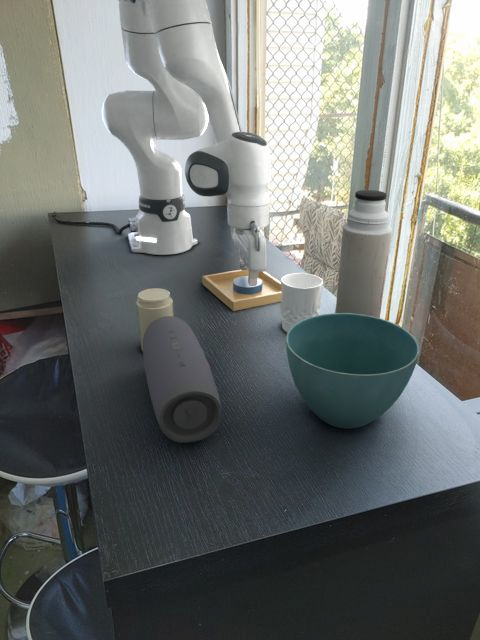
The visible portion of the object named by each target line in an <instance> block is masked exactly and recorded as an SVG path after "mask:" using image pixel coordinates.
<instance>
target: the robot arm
mask: <svg viewBox="0 0 480 640" xmlns="http://www.w3.org/2000/svg"><path fill="white" fill-rule="evenodd" d="M118 10H119V23H120V31H121V37H122V45H123V50H124V51H123V52H124V59H125V63H126V65H127V67H128V68H129V69H130V70H131V71H132V72H133V74H135V75H136V76H138V77H139V78H142V79H143V80H146V81H147V82H148V83H149V84H150V85H151V86H152V87H153V88H154V90H122V91H117V92H113V93H109V94H108V95H107V96H106V97H105V99H104V101H103V103H102V107H101V118H102V122H103V124H104V126H105V129H106V131H108V132H109V134H110V135H112V136H113V137H115V138H116V139H117V140H118V141H119V142H120V143H122V144H123V146H124V147H125V148H126V149H127V151H128V152H129V154H130V155H131V157H132V159H133V162H134V164H135V169H136V172H137V178H138V184H139V185H138V186H139V196H138V209H139V210H138V211H137V214H136V215H135V217H128V218H127V220H128V223H127V224H126V225H123V226H122V227H120V229H119V228H118V226H117V225H116V224H114V223H111V222H103V221H88V222H89V223H86V222H87V221H82V222H71V221H72V220H67V221H62V220H63V219H61V220H58V219H59V218H58V219H55V218H54V220H55V221H56V222H57V223H62V224H69V225H85V226H107V227H111V228H113V229H114V230H115V233H116V234H118V235H121V234H122V233H123V232H124V231H125V230H126V229H129V231H130V232H129V233H128V234H127V239H128V244H129V247H130V251H131V252H132V253H143V254H148V255H156V256H157V255H158V256H168V255H176V254H182V253H184V252H187V251H189V250H191V249H192V247H193V246H196V245H198V242H199V241H198V239H197V238H195V237H193V228H192V219H191V215H190V213H188V212H187V211H186V210H185V209H186V199H185V195H184V193H183V179H182V178H183V177H182V176H183V175H182V166H181V164H180V162H179V161H178V160H177V159H175V158H174V156H171V155H170V154H167V153H165V152H164V151H162V150H160V149H159V148H158V146H157V144H156V141H157V140H165V141H166V140H171V141H176V140H177V141H185V140H190V139H194V138H195V139H196V138H199V137H201V136H202V135H203V134H204V133H205V132H206V129H207V128H208V124H209V122H210V126H211V130H212V133H213V137H214V141H215V143H214V144H212V145H210V146H206V147H204V148H199V149H198V150H196V151H194V152H192V153H191V154H190V155H189V156H188V157H187V159H186V162H185V165H184V176H185V180H186V182H187V185H188V186H189V188H190V189H191V190H192V192H194V193H195V194H196V195H198V196H200V197H218V196H225V197H226V200H227V206H226V212H227V225H228V226H230V233H231V234H230V235H231V241H232V245H233V247H234V248H235V250H236V251H237V255H238V261H239V263H238V264H239V270H248V271H249V276H248V283H249V285H250V286H256V285H257V278H258V275H259V272H264V271H265V272H266V269H267V241H266V236H265V234H264V228H266V227H268V226H269V224H270V203H271V201H270V199H271V198H270V196H269V187H270V183H271V154H270V147H269V144H268V141H267V140H266V139H265V138H264V137H262V136H261V135H258V134H257V133H252V132H248V131H247V132H246V131H243V129H242V125H241V121H240V117H239V113H238V110H237V106H236V101H235V97H234V94H233V90H232V86H231V83H230V80H229V77H228V74H227V72H226V69H225V67H224V65H223V63H222V62H223V61H222V60H221V56H220V54H219V53H220V52H219V51H218V47H217V42H216V38H215V34H214V28H213V23H212V19H211V14H210V9H209V4H208V1H207V0H118ZM53 214H54V215H57V212H56V211H53V212H52V215H51V217H54V215H53Z"/></svg>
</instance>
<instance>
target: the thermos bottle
mask: <svg viewBox="0 0 480 640" xmlns="http://www.w3.org/2000/svg"><path fill="white" fill-rule="evenodd" d="M387 196H388V194H387V193H386V192H384V191H381V190H375V189H360V190H357V191H355V195H354V197H355V201H354V207H353V209H351V210H349V212H348V216H347V218H346V220H347V222H345V223H344V224H343V225H342V233H341V242H340V243H341V244H340V255H339V264H338V277H337V287H336V303H335V311H334V313H352V314H361V315H367V316H372V317H377V318H380V319H381V312H382V305H383V297H384V290H385V283H386V277H387V269H388V262H389V256H390V248H391V241H392V235H393V228H392V227H391V226H390V225H389V223H390V222H391V219H390V213H389V212H388V211H386V205H387V203H386V199H387Z"/></svg>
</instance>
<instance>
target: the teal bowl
mask: <svg viewBox="0 0 480 640" xmlns="http://www.w3.org/2000/svg"><path fill="white" fill-rule="evenodd" d="M285 339H286V340H285V345H286V356H287V362H288V367H289V370H290V374H291V377H292V380H293V382H294V385H295V387H296V389H297V392H298V393H299V395H300V397H301V398H302V400H303V401H304V403H305V404H306V405H307V406H308V408H309V409H310V410H311V411H312V412H313V414H315V416H316V417H317V418H319V420H320V421H322V422H324V423H325V424H327V425H330V426H332V427H335V428H339V429H346V430H347V429H348V430H349V429H358V428H361V427H365V426H367V425H369V424H370V423H372V422H373V421H375V420H377V419H378V418H379V417H381V416H382V415H383V414H385V412H387V411H388V410H389V409H390V408H391V407H392V406H393V405H394V404H395V403H396V402H397V401H398V399H399V398H400V397H401V395H402V394H403V392H404V390H405V389H406V388H407V385H409V382H410V380H411V377H412V376H413V373H414V372H415V371H414V370H415V368H416V365H417V362H418V359H419V355H420V345H419V343H418V340H417V339H416V337H415V336H414V335H413V334H411V332H409V331H408V330H406V329H405V328H403V327H402V326H401V325H398V324H396V323H395V322H391V321H389V320H386V319H383V318H381V317H380V318H377V317H372V316H367V315H361V314H352V313H335V312H333V313H323V314H319V315H318V316H313V317H310V318H307V319H304V320H302V321H300V322H298V323H296V324H295V325H294V326H292V327H291V328H290V330H289V331H288V332H286V337H285Z"/></svg>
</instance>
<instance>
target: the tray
mask: <svg viewBox="0 0 480 640" xmlns="http://www.w3.org/2000/svg"><path fill="white" fill-rule="evenodd" d="M246 276H249V271H248V270H241V269H237V270H231V271H224V272H218V273H212V274H207V275H202V276H201V278H202V285H203V286H204V287H205V288H206V289H207V290H208V291H210V293H211V294H213V295H214V296H215V297H216V298H218V299H219V300H220V302H222V303H223V304H224V305H225V306H226V307H228V308H229V309H230V310H231V311H233V312H237V311H241V310H245V309H246V310H247V309H252V308H256V307H261V306H265V305H270V304H276V303H281V280H279V279H277V278H276V277H274V276H273V275H271V274H269V273H268V272H267V271H266V270H265V271H264V272H259V275H258V278H259V279H261V280H262V282H263V284H262V291H261V292H259V293H256V294H240V293H237V292H235V291H234V290H233V281H234V279H236V278H239V277H246Z"/></svg>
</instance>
